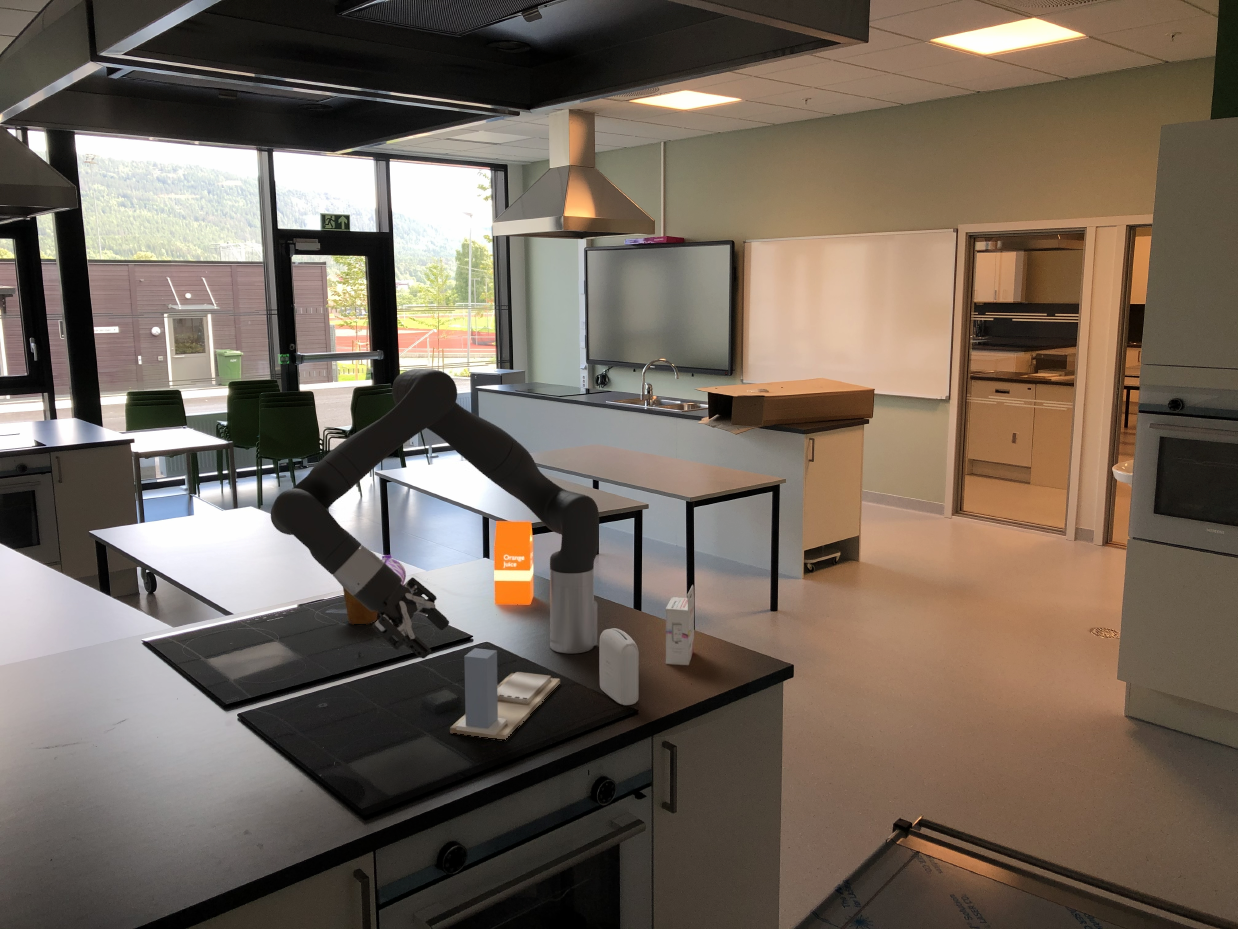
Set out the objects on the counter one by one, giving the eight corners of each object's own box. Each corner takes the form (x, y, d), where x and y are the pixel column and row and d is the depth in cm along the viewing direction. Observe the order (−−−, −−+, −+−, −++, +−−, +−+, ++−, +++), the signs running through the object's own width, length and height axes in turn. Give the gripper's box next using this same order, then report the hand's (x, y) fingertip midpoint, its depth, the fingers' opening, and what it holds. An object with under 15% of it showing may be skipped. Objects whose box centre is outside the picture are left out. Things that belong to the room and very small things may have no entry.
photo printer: (596, 688, 176) (596, 624, 174) (616, 684, 178) (617, 621, 176) (620, 708, 167) (620, 641, 165) (641, 704, 169) (642, 638, 167)
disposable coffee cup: (392, 619, 217) (391, 568, 215) (361, 630, 209) (359, 578, 207) (364, 612, 222) (362, 563, 220) (332, 622, 214) (330, 571, 212)
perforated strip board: (511, 678, 181) (511, 668, 180) (560, 684, 178) (560, 674, 177) (450, 733, 156) (450, 722, 156) (505, 741, 153) (505, 730, 153)
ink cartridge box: (670, 650, 197) (671, 582, 195) (694, 652, 196) (695, 583, 194) (664, 664, 189) (665, 593, 186) (688, 666, 188) (690, 595, 185)
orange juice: (530, 604, 228) (529, 524, 226) (494, 604, 229) (493, 524, 226) (533, 595, 236) (533, 518, 233) (498, 595, 236) (497, 517, 233)
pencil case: (371, 589, 242) (370, 553, 240) (407, 588, 243) (406, 552, 241) (355, 615, 220) (354, 576, 219) (395, 614, 221) (394, 575, 220)
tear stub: (469, 717, 159) (468, 646, 157) (507, 723, 157) (506, 650, 155) (456, 729, 155) (454, 656, 153) (495, 735, 153) (494, 660, 151)
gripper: (361, 587, 151) (435, 653, 154) (397, 545, 164) (464, 606, 167) (335, 612, 154) (408, 676, 157) (372, 568, 167) (439, 628, 170)
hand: (437, 640), depth 162 cm, fingers open, 8 cm apart
